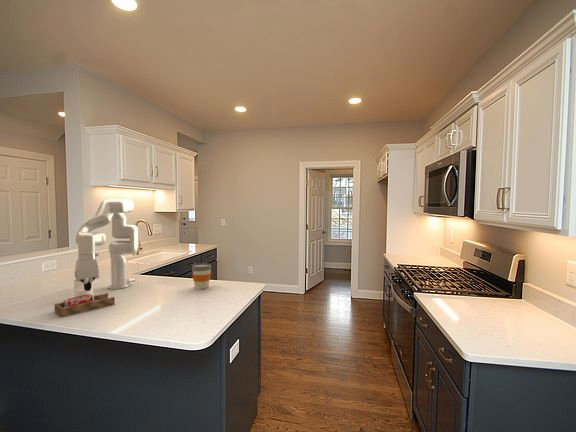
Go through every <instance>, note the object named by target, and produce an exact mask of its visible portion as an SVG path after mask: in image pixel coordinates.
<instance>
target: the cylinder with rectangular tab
mask: <svg viewBox="0 0 576 432" xmlns="http://www.w3.org/2000/svg"><path fill="white" fill-rule="evenodd" d="M75 279H76V278H74V279H73V293H74V294H73V295H74V297H77V296H82V295H86V294H91V295H93V296H94V290H93V289H94V286H93V285H94V281H93V282H92V283H91V289H90V291H86V290H84V283H83V282H77V281H75ZM88 279H89V278H86V280H87V283H88Z"/></svg>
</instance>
